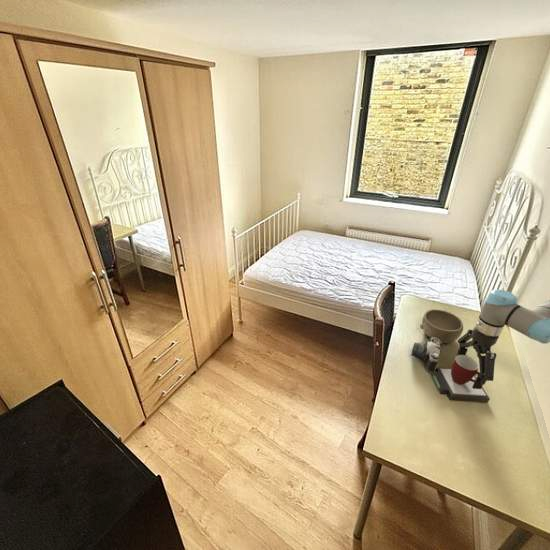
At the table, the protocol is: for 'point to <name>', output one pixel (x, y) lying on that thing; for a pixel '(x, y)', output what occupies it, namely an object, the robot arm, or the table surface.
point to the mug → (464, 369)
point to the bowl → (442, 325)
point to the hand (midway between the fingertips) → (467, 373)
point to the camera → (428, 353)
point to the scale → (458, 387)
